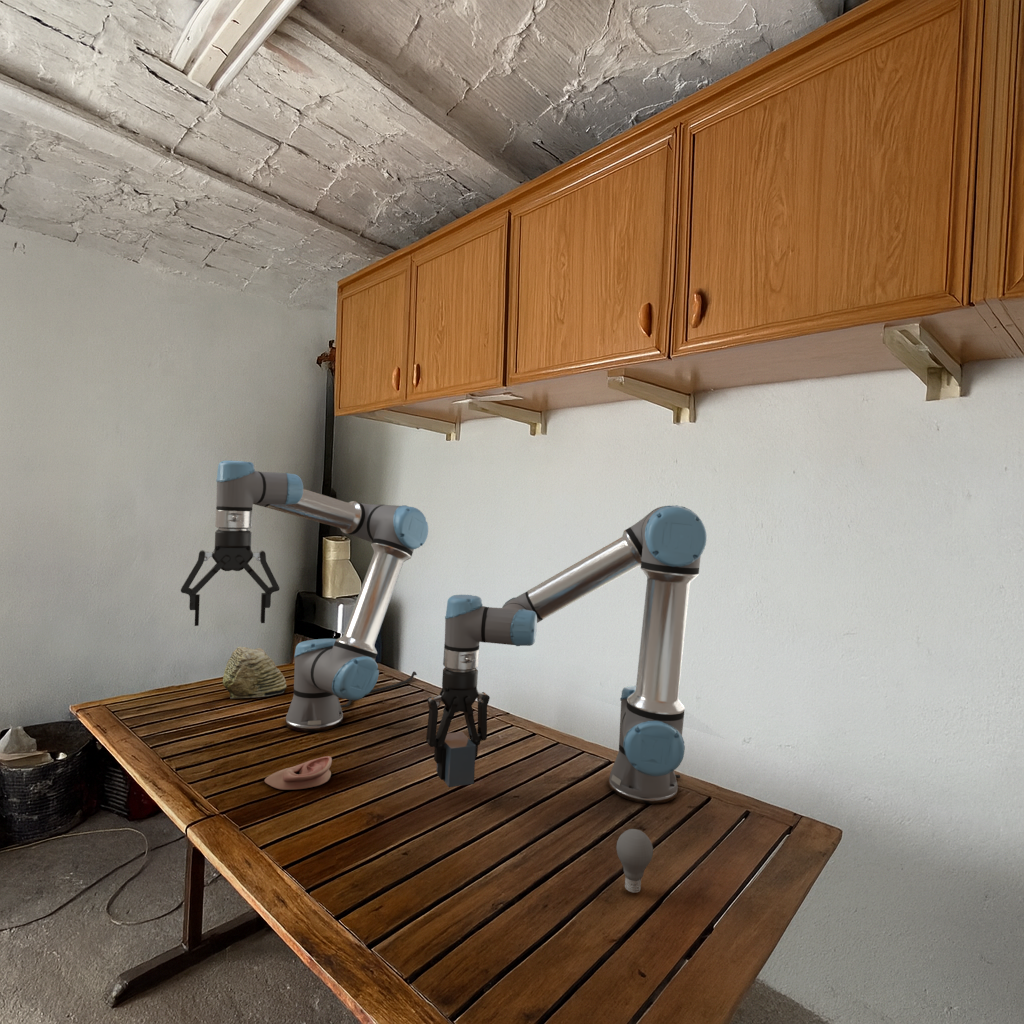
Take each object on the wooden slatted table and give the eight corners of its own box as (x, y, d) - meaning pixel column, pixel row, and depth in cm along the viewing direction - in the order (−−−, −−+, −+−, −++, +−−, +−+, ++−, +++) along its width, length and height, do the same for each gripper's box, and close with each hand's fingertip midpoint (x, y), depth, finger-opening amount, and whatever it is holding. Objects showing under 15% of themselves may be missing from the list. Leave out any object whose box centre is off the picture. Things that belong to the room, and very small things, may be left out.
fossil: (218, 695, 195) (220, 647, 195) (278, 685, 208) (279, 640, 207) (228, 703, 189) (230, 653, 188) (289, 692, 201) (290, 645, 201)
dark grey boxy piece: (436, 771, 139) (438, 734, 139) (460, 767, 141) (462, 731, 141) (448, 787, 131) (450, 748, 131) (473, 783, 134) (475, 745, 133)
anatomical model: (256, 768, 137) (286, 748, 148) (256, 786, 137) (285, 765, 148) (313, 776, 134) (338, 755, 145) (312, 794, 134) (338, 772, 145)
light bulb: (610, 879, 108) (613, 822, 108) (644, 879, 109) (647, 822, 109) (619, 902, 102) (622, 840, 102) (655, 901, 103) (658, 840, 103)
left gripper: (169, 529, 134) (166, 629, 134) (293, 531, 144) (290, 624, 145) (171, 527, 141) (168, 622, 141) (290, 529, 151) (286, 618, 152)
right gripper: (424, 675, 128) (418, 788, 129) (507, 669, 136) (501, 776, 137) (413, 665, 135) (407, 773, 136) (493, 660, 143) (487, 762, 143)
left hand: (230, 623), depth 143 cm, fingers open, 13 cm apart
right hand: (454, 774), depth 136 cm, fingers closed on dark grey boxy piece, 6 cm apart
